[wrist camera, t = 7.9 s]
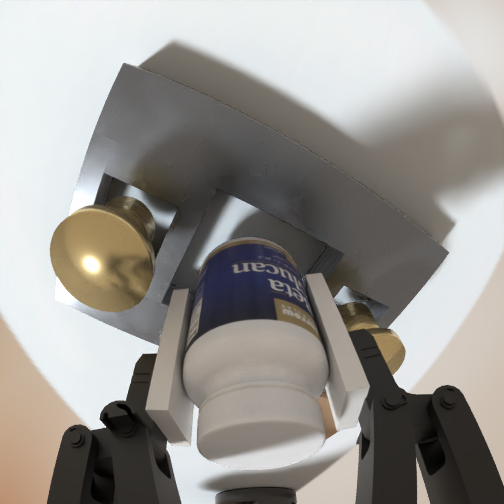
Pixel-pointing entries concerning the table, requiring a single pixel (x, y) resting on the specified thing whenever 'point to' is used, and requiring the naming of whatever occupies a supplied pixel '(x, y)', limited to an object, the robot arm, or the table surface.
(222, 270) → the pill bottle
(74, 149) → the table surface
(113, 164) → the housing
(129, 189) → the table surface
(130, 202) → the plunger
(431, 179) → the table surface
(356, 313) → the plunger
